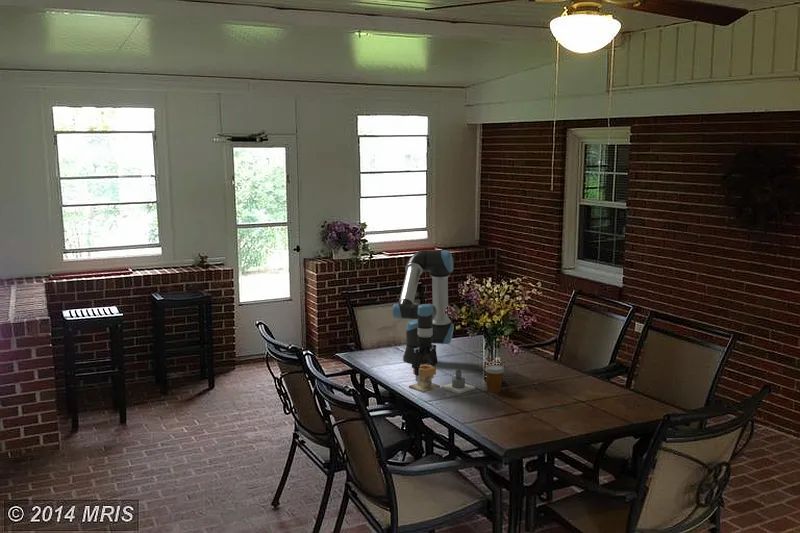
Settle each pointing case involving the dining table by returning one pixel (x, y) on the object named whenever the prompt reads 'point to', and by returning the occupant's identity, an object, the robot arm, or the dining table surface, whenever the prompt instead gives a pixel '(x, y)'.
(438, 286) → the robot arm
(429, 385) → the stand
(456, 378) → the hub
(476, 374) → the dining table surface
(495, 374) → the disposable coffee cup
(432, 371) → the ring
